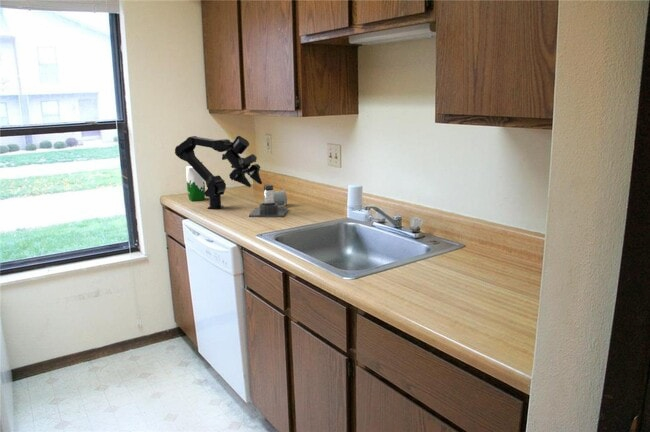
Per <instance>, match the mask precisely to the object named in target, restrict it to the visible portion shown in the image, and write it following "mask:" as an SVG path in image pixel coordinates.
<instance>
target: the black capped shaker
mask: <svg viewBox="0 0 650 432" xmlns="http://www.w3.org/2000/svg"><path fill="white" fill-rule="evenodd" d="M273 192H274V185H273V184H264V185H263V203H264V205H265V206H271V205H274V199H273Z"/></svg>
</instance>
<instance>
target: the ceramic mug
mask: <svg viewBox="0 0 650 432" xmlns="http://www.w3.org/2000/svg"><path fill="white" fill-rule="evenodd" d="M273 199H274V203H277V204H278V208H286V205H287V203H288V196H287V193H286V191H285V190H284V189H282V190H276V191H275V190H274V191H273Z"/></svg>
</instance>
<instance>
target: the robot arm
mask: <svg viewBox="0 0 650 432" xmlns="http://www.w3.org/2000/svg"><path fill="white" fill-rule="evenodd" d="M197 146H200V147H205V148H210V149H212V150H214V151H216V152H218V153H222V154H221V160H222V161H224V160H227V161H228V162H229V164H230V165H231V166H230V167H231V168H232V169H233V170H232V171H231V172H230V173H229V175H228V176H229V179H230V180H231V181H234V182H237V183H240V184H243V185H244V186H246V187H248V188H251V187H252V184H251V183H250V181H249V179H248V178H247V177H246V175H248V176H249V178H251V180H253V181H255V182H256V183H258V184H259V185H262V184H263V181H262V178H261V176H260V173H259V172H260V169H261V166H260V165H259V163H256V162H257V159H258V158H257V156H256V155H255V154H254V153H252V154H251V153H250V155H249V156H245V157H241V156H240V155H242V154H243V153H245V151H246V149H247V148H248V147H249V146H250V142H249V141H248V139H246V138H244V137H242V136H241V135H237V136H236V138H235V139H234V141H231V140H230V139H227V138H226V139H225V138H224V139H223V138H222V139H212V138H206V137H201V136H196V135H194V136H191V135H190V136H188V137H187V138H186V139H185V140H184V141H182V142H181V143H179V145H175V148H174V154H175V155H176V156H177V158H178V159H180V160H182V161H184V162H187V163H188V165H189V166H192V168H193V169H194V170H195V171H196V172H197V173H198V174H199V175H200V176H201V177H202V178H203V179H204V182H205V184H206V185H205V186H206V188H207V189H205V198H206V197H208V204H209V206H208V207H207V209H209V210H210V209H211V210H212V209H213V210H218V209H222V208H223V207H224V205H222V197H221V196H223V195H224V194H225V190H226V189H227V186H226V185H227V183H226V182H225V179H224V178H222V177H221V175H213V173H212V172H211V171H210V170H209V169H208V168H207V167H206V166H205V165H204V164H203V162H202V161H200V159H198V157H196V155H195V149H196V147H197ZM224 152H225V153H224ZM201 162H202V163H201ZM253 163H254V164H253Z"/></svg>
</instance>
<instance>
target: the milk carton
mask: <svg viewBox="0 0 650 432" xmlns="http://www.w3.org/2000/svg"><path fill="white" fill-rule="evenodd" d="M200 162H201V163H202V164H203V162H202V161H200ZM185 171H186V172H185V175H186V188H187V195H188V196H187V197H188V199H189V201H191V202H199V201H206V196H205V191H206V185H205V184H206V182H205V180H204V179H203V178H202V177H201V176H200V175H199V174H198V173H197V172H196V171H195V170H194V169H193V168H192V166H191V165H189V166H185Z"/></svg>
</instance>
